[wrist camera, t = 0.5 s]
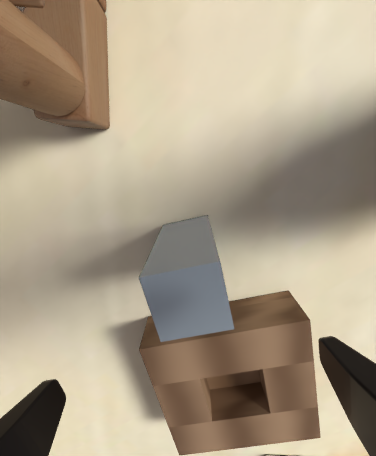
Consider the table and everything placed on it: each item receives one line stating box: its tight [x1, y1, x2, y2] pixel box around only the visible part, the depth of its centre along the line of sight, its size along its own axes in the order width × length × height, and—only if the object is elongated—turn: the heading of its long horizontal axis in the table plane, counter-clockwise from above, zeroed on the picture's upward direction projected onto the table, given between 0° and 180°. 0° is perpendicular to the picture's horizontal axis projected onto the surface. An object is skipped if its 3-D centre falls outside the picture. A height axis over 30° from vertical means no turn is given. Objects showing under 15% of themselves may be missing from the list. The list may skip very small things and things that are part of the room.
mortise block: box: [139, 291, 320, 455], centre depth 22 cm, size 14×14×4 cm
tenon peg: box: [139, 215, 234, 342], centre depth 15 cm, size 4×4×9 cm
